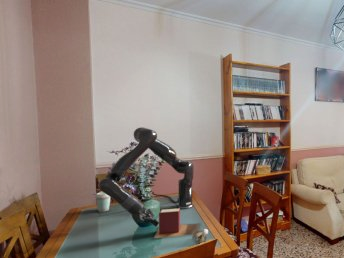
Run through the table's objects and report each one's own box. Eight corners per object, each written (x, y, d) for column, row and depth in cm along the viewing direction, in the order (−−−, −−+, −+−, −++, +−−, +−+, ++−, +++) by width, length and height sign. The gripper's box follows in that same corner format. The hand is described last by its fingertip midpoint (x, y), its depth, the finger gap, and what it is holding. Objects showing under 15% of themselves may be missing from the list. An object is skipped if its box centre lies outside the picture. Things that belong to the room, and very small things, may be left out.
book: (158, 234, 138) (158, 212, 138) (160, 230, 143) (160, 209, 143) (178, 232, 141) (178, 211, 141) (180, 228, 146) (180, 208, 145)
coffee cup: (113, 209, 174) (113, 192, 173) (99, 213, 166) (98, 195, 166) (107, 207, 178) (107, 190, 178) (93, 210, 171) (93, 193, 170)
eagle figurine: (191, 236, 136) (188, 241, 127) (199, 224, 137) (196, 228, 128) (203, 243, 136) (201, 248, 128) (211, 231, 138) (209, 235, 129)
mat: (153, 238, 134) (153, 238, 134) (159, 227, 148) (159, 227, 148) (197, 234, 140) (197, 233, 140) (199, 224, 153) (199, 223, 153)
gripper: (133, 203, 131) (160, 224, 135) (141, 195, 143) (165, 215, 147) (122, 214, 130) (149, 235, 133) (131, 205, 142) (155, 224, 146)
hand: (157, 224), depth 140 cm, fingers closed
